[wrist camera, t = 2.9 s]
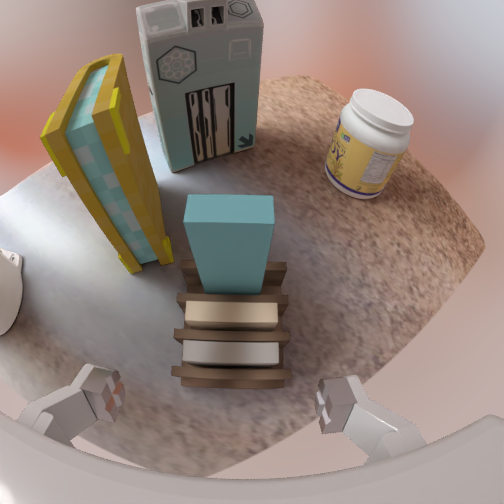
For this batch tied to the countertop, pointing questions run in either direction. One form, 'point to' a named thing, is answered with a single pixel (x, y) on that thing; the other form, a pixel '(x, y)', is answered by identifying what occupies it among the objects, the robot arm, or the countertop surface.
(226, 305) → the block
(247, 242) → the tall sheet
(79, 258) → the countertop surface
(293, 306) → the countertop surface
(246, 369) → the rack
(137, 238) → the book
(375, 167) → the supplement tub
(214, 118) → the device
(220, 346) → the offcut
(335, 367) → the countertop surface
